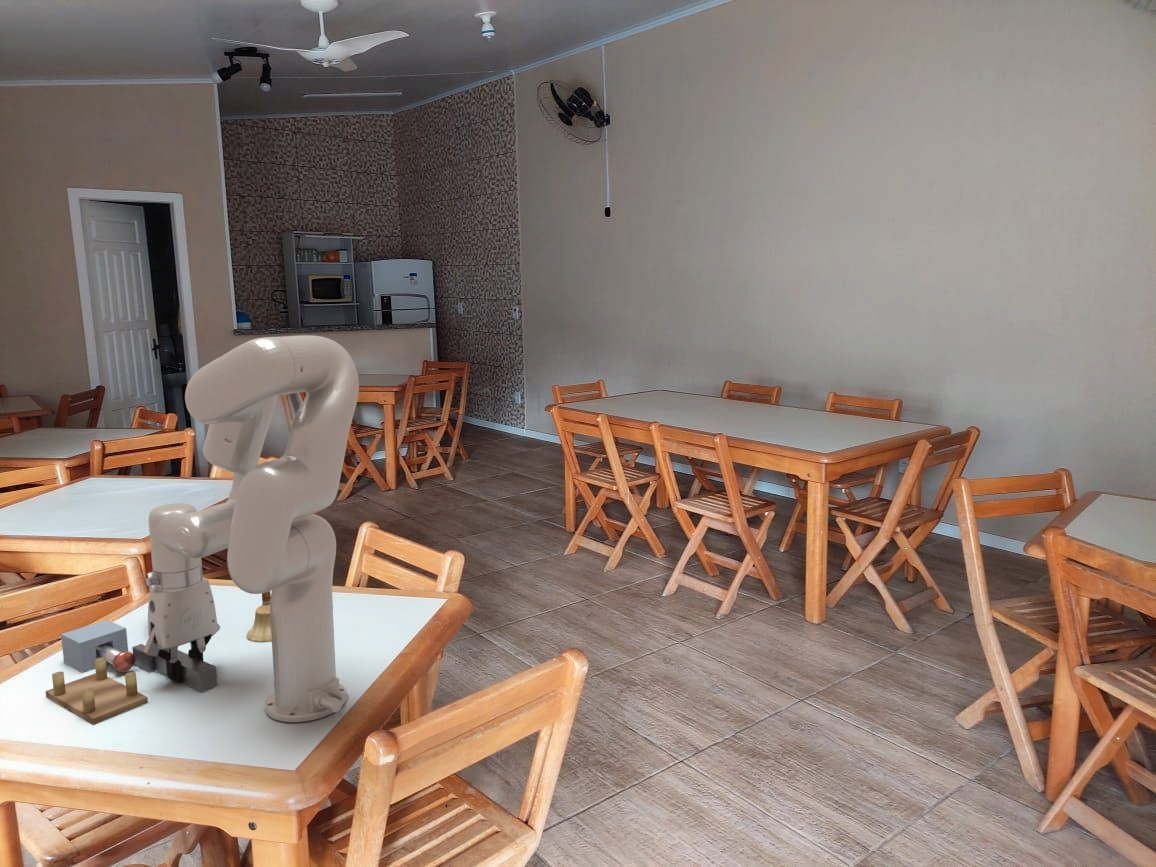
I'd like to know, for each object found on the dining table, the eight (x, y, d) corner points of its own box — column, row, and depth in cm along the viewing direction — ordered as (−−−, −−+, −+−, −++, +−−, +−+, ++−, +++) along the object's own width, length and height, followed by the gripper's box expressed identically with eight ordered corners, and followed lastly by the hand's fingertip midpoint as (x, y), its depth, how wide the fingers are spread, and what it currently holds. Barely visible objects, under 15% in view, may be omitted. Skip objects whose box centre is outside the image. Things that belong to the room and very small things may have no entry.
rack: (147, 702, 129) (145, 676, 128) (93, 724, 122) (90, 697, 121) (99, 677, 138) (97, 653, 137) (46, 696, 131) (43, 671, 130)
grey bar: (222, 683, 136) (221, 664, 135) (195, 694, 132) (194, 675, 131) (160, 655, 146) (158, 637, 146) (133, 665, 142) (132, 646, 142)
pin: (136, 667, 140) (134, 649, 140) (116, 674, 137) (114, 656, 137) (106, 653, 146) (104, 635, 146) (86, 659, 143) (84, 642, 143)
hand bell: (275, 644, 152) (271, 564, 149) (237, 640, 153) (232, 561, 151) (299, 627, 160) (295, 551, 157) (262, 624, 161) (257, 549, 159)
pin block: (128, 656, 146) (126, 628, 145) (82, 672, 140) (79, 643, 139) (109, 647, 150) (107, 619, 149) (64, 662, 143) (61, 634, 143)
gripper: (141, 595, 126) (150, 702, 129) (234, 567, 139) (241, 665, 142) (117, 585, 130) (127, 690, 133) (210, 560, 143) (217, 655, 146)
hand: (186, 676), depth 137 cm, fingers closed on grey bar, 3 cm apart
